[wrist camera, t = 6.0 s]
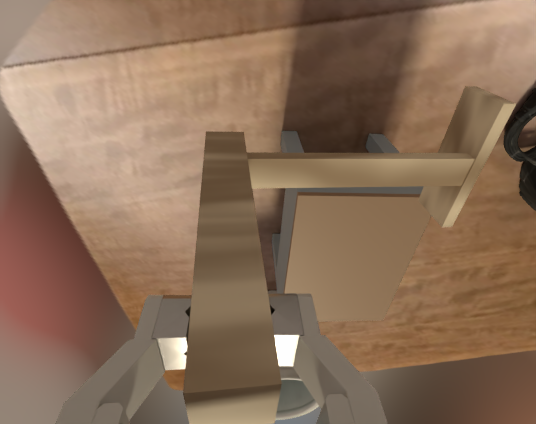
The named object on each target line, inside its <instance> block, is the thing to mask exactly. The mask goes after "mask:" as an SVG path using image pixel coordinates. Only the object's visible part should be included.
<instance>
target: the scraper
mask: <svg viewBox="0 0 536 424" xmlns="http://www.w3.org/2000/svg"><path fill="white" fill-rule="evenodd" d="M515 105H516V104H515V103H513V102H511V101H508V100H506V99H504V98H501V97H499V96H497V95H494V94H492V93H490V92H488V91H485V90H483V89H481V88H478V87H470V86H465V88H464V91H463V93H462V96H461V98H460V101H459V103H458V105H457V108H456V110H455V113H454V115H453V117H452V120H451V122H450V125H449V127H448V129H447V132H446V134H445V137H444V139H443V141H442V144H441V146H440V149H439V151H438V153H247V152H246V145H245V139H244V132H206V139H205V150H204V162H203V173H202V184H201V196H200V207H199V219H198V230H197V242H196V253H195V264H194V276H193V287H192V299H191V310H190V321H189V333H188V344H187V356H186V367H185V379H184V390H183V395H184V400H185V404H186V409H187V414H188V418H189V423H190V424H270V423H275V418H276V412H277V407H278V401H279V396H280V391H281V385H282V383H281V376H280V369H279V363H278V356H277V350H276V343H275V336H274V330H273V323H272V317H271V310H270V303H269V297H268V290H267V284H266V277H265V270H264V264H263V257H262V251H261V244H260V237H259V231H258V224H257V218H256V211H255V205H254V198H253V191H252V188H329V187H408V186H424V187H423V190H422V192H421V194H420V197H419V199H418V201H419V202H420V203H421V204H422V205H423V206H424V208H425V209H426V210H427V211H428V212H429V213H430V214H431V216H432V217H433V218H434V219H435V220H436V221H437V222H438V223H439V225H440V226H441V227H452V226H453V224H454V222H455V220H456V218H457V216H458V214H459V212H460V210H461V208H462V207H463V205H464V203H465V201H466V199H467V197H468V195H469V193H470V191H471V189H472V188H473V186H474V184H475V182H476V180H477V178H478V176H479V174H480V172H481V170H482V168H483V167H484V165H485V163H486V161H487V159H488V157H489V155H490V153H491V151H492V149H493V147H494V146H495V144H496V142H497V140H498V138H499V136H500V134H501V132H502V130H503V128H504V126H505V125H506V123H507V121H508V119H509V117H510V115H511V113H512V111H513V109H514V107H515Z"/></svg>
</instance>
